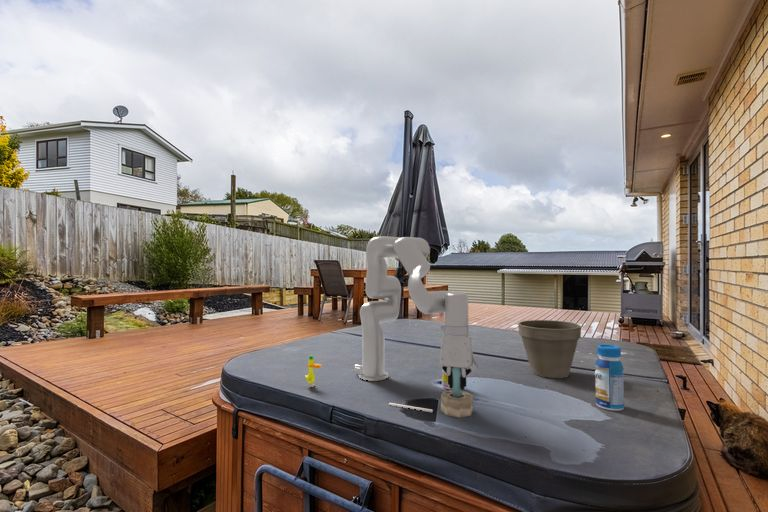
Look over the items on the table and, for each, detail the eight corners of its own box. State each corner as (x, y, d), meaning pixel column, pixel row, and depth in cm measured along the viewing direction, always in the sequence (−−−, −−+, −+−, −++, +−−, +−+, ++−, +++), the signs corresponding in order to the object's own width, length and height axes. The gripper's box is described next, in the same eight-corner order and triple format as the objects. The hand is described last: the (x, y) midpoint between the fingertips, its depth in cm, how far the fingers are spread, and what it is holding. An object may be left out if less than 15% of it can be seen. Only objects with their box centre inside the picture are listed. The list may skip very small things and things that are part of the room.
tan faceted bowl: (438, 414, 117) (438, 398, 117) (445, 403, 125) (445, 388, 126) (469, 419, 113) (468, 402, 113) (474, 407, 122) (474, 392, 122)
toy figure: (322, 386, 143) (322, 354, 144) (319, 389, 140) (319, 357, 140) (306, 385, 145) (306, 354, 145) (302, 388, 141) (302, 356, 141)
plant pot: (517, 378, 154) (517, 326, 154) (519, 363, 177) (519, 318, 177) (585, 385, 144) (584, 330, 145) (578, 369, 167) (577, 321, 168)
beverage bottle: (625, 413, 117) (624, 350, 118) (594, 408, 122) (593, 347, 122) (624, 405, 124) (623, 345, 125) (595, 400, 129) (594, 342, 129)
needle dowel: (451, 398, 118) (451, 360, 119) (453, 395, 121) (453, 358, 121) (460, 399, 117) (460, 361, 117) (462, 396, 120) (462, 359, 120)
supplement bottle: (460, 385, 144) (460, 352, 144) (458, 391, 138) (458, 356, 138) (443, 383, 146) (443, 351, 147) (440, 389, 140) (440, 355, 140)
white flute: (388, 405, 124) (388, 403, 124) (389, 404, 125) (389, 402, 125) (432, 412, 118) (432, 410, 118) (432, 411, 119) (432, 409, 119)
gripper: (429, 330, 120) (429, 388, 119) (480, 334, 113) (481, 395, 113) (435, 327, 126) (435, 381, 126) (484, 330, 120) (484, 387, 119)
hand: (457, 387), depth 119 cm, fingers closed on needle dowel, 3 cm apart
